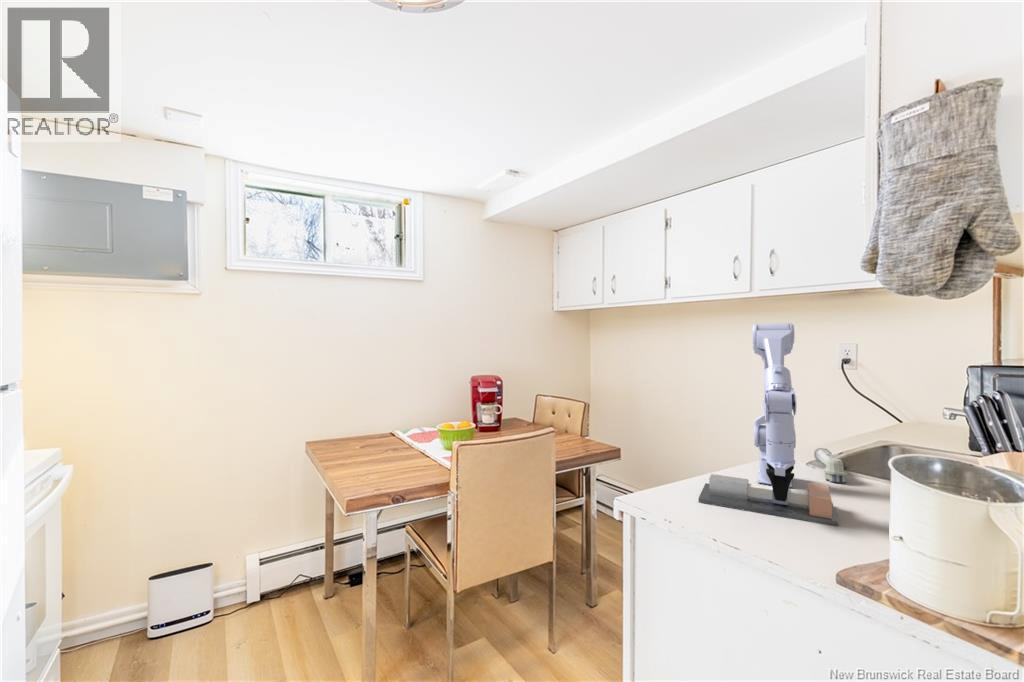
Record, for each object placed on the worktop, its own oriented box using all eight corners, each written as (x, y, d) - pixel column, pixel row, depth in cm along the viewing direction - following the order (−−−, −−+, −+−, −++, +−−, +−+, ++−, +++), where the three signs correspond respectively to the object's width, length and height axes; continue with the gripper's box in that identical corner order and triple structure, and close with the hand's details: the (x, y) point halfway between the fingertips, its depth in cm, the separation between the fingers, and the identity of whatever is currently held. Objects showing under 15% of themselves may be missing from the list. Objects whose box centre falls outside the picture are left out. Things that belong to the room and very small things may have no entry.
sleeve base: (705, 486, 119) (705, 468, 119) (832, 506, 104) (832, 485, 104) (698, 502, 109) (698, 482, 109) (837, 526, 94) (837, 503, 94)
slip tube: (734, 491, 112) (734, 477, 112) (809, 502, 103) (809, 487, 103) (732, 496, 108) (732, 482, 108) (810, 508, 100) (810, 493, 100)
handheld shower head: (830, 447, 140) (848, 458, 118) (831, 469, 139) (849, 483, 117) (811, 446, 142) (825, 456, 120) (811, 467, 142) (825, 481, 120)
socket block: (807, 499, 106) (807, 482, 106) (827, 502, 104) (827, 485, 104) (809, 515, 98) (809, 496, 98) (831, 518, 96) (831, 499, 95)
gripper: (761, 432, 113) (762, 484, 113) (759, 446, 100) (759, 504, 101) (794, 435, 109) (794, 489, 109) (795, 449, 97) (796, 510, 97)
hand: (780, 496), depth 105 cm, fingers closed on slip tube, 4 cm apart
